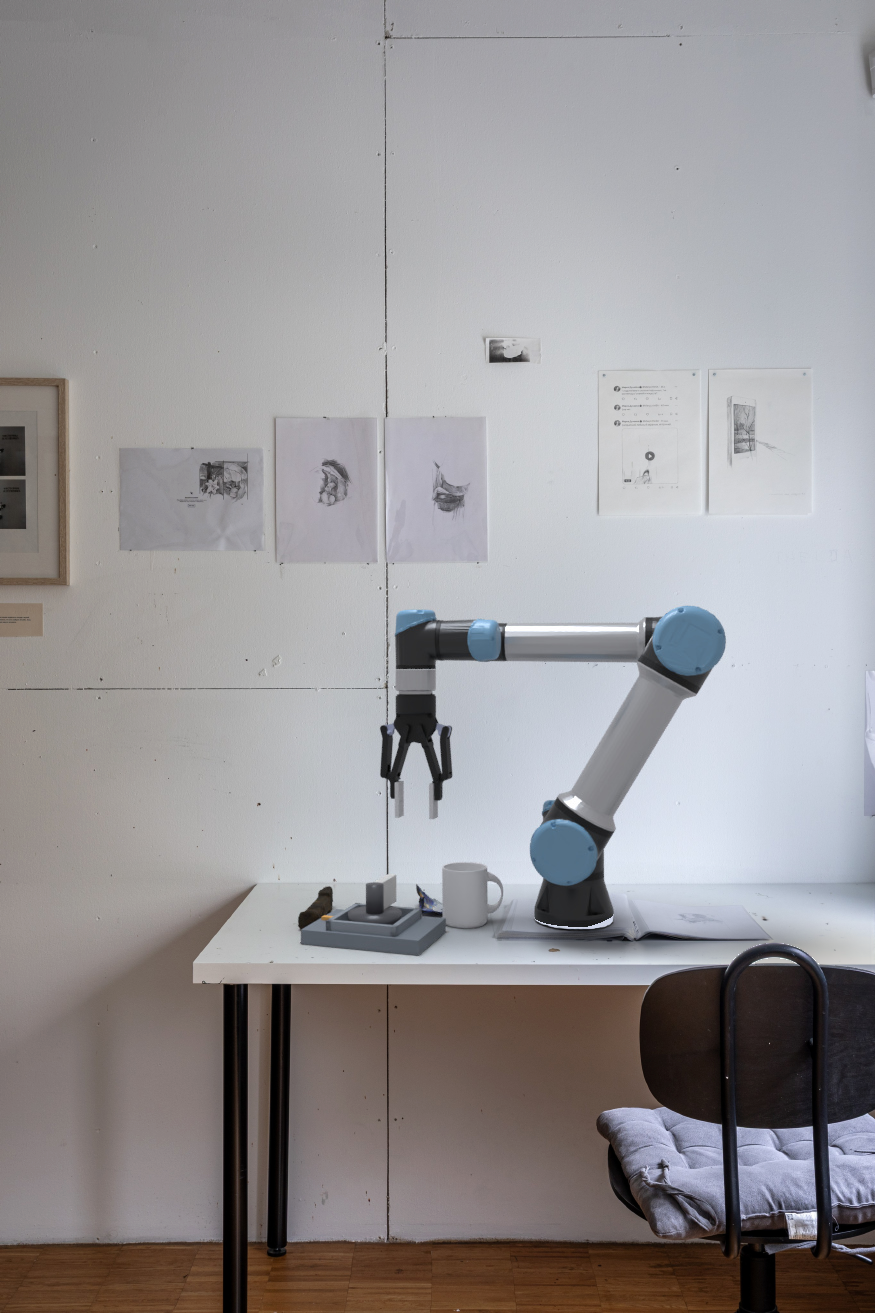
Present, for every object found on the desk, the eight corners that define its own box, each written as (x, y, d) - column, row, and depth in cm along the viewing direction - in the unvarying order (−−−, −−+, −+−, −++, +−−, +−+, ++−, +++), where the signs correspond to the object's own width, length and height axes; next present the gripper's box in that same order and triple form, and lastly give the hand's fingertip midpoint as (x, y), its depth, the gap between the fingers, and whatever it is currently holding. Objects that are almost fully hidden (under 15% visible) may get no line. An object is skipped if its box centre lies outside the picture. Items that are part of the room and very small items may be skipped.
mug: (510, 926, 176) (510, 869, 176) (449, 930, 173) (448, 872, 173) (496, 914, 184) (496, 860, 184) (437, 918, 181) (437, 863, 182)
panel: (445, 932, 172) (445, 909, 172) (418, 955, 158) (418, 930, 158) (336, 922, 179) (336, 900, 179) (300, 944, 165) (300, 920, 165)
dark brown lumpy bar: (318, 933, 173) (318, 907, 173) (297, 932, 173) (297, 906, 173) (343, 907, 191) (343, 884, 192) (324, 906, 192) (324, 884, 192)
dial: (389, 931, 162) (389, 892, 162) (339, 927, 165) (339, 888, 166) (415, 912, 175) (415, 876, 175) (368, 908, 178) (368, 873, 178)
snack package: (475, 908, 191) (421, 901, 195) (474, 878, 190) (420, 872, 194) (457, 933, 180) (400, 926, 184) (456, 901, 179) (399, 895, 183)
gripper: (470, 692, 174) (471, 816, 174) (375, 692, 181) (376, 812, 180) (458, 693, 167) (459, 823, 167) (360, 693, 173) (361, 818, 173)
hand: (416, 817), depth 174 cm, fingers open, 6 cm apart
